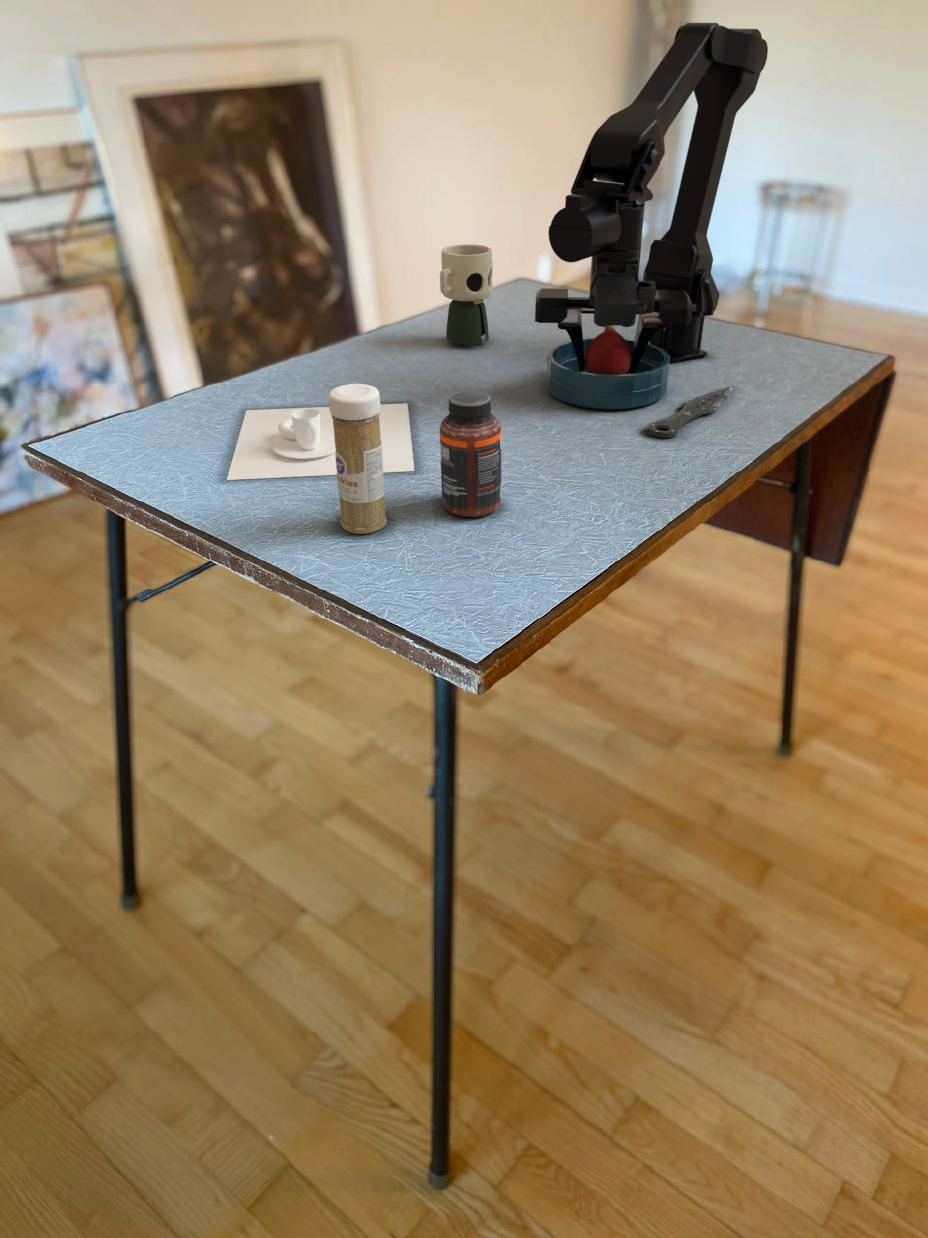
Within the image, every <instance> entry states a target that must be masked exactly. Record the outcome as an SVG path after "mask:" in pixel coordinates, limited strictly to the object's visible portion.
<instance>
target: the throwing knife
mask: <svg viewBox="0 0 928 1238" xmlns="http://www.w3.org/2000/svg"><path fill="white" fill-rule="evenodd" d="M734 387H735V385H731V386H726V387H723V388H720V389H718V390H717V389H716V390H714V391H711V392H709V393H706V394H703V395H699V396H698V397H695V398H692V399H690V400H688V401H686V402H683V403H680V406H681V409H679V411H677V412H676V413H673V414H672V415H670V416H669V417H667V418H663V419H660V420H657V421H653V422H650V423H648V425H647V428H646V433H647V434H649V435H651V436H654V437H657V438H662V439H663V438H664V439H665V438H666V439H668V438H673V437H675V436H677V435H678V433H679V431H680V430H681V428H682V427H683V426H685V424H687V423H690V422H691V421H692V420H694V419H696V418H698V417H702V416H706V415H709V414H714V412H716V411H717V410H718V409H719V408H720V407H721V406H722V404H723V403H724V402H725V401H726V400H727V399H728V397H729V396H730V395H731V393H732V391H733V390H734ZM659 429H660V430H659ZM661 429H666V430H661Z"/></svg>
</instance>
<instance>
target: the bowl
mask: <svg viewBox="0 0 928 1238" xmlns="http://www.w3.org/2000/svg"><path fill="white" fill-rule="evenodd" d="M595 338H596V337H583V345H584V358H585V354H586V350H587V348H588V346H589V344H590V343H591V342H592V341H593V339H595ZM624 339H625V340H626V342H627V343H628V345H629V347H630V351H631V355H632V350H633V344H634V339H630V338H624ZM649 343H650V342H649ZM649 343H648V345H647V347H646V348H645V350H644V353H643V355H642V357H641V359H640V362H639V364H638V366H637V369H636V371H635V373H634V374H630V369H629V371H628V372H627V374H621V375H606V374H592V373H589V372H588V371H587V369H586V366H585V371H584V372H580V369H579V365H578V361H577V357H576V353H575V350H574V346H573V344H572V341H571V339H570V340H567V341H564V342H561V343H557V344H556V345H554V346H553V347H551V348H550V349H549V351H548V353H547V356H546V376H545V377H546V379H545V380H546V381H545V388H546V389H547V391H548V393H549V394H550V395H552V396H553V397H555V398H556V399H558V400H559V401H562V402H565V403H567V404H569V405H572V406H575V407H576V406H577V407H580V408H584V409H591V410H602V411H619V410H629V409H637V408H640V407H643V406H648V405H650V404H653V403H655V402H657V401H660V399H662V398H663V397H664V396H665V395H666V394H667V389H668V388H667V387H668V380H669V379H668V377H669V370H670V362H669V361H670V356H669V355H668V354H667V353H666V352H665V350H663V349H661V348H659V347H657V346H655V345H653V344H649Z"/></svg>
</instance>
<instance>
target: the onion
mask: <svg viewBox="0 0 928 1238" xmlns="http://www.w3.org/2000/svg"><path fill="white" fill-rule="evenodd" d="M603 330H604V331H603V332H601V333H599V334H597V336H596V337H594V338H595V339H593V341H592V342H591V343H590V344H589V346H588V348H587V350H586V354H585V366H586V369H587V371H588V372H589V373H592V374H606V375H621V374H627V372H628V371H629V369H630V366H631V351H630V347H629V345H628V343H627V342H626V340H625V339H626V338H625V337H624V336H622V335H621V334H620V333H619V332H617V330H616V329H615V328H614V326H613V325H608V326H606V327H604V329H603Z"/></svg>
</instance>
